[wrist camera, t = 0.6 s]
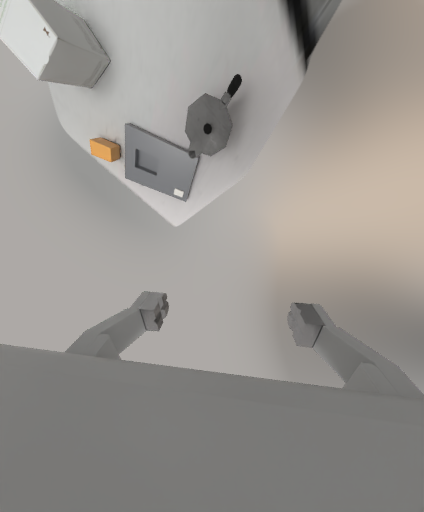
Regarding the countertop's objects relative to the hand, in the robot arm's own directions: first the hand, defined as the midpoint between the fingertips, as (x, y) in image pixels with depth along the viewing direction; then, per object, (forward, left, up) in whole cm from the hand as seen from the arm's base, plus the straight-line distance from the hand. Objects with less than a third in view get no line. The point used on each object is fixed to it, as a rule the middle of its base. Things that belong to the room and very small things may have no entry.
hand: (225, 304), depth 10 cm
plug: (+10, -31, -49) cm, 59 cm away
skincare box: (-6, -35, -49) cm, 60 cm away
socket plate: (+9, -16, -49) cm, 52 cm away
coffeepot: (-7, -5, -49) cm, 50 cm away
